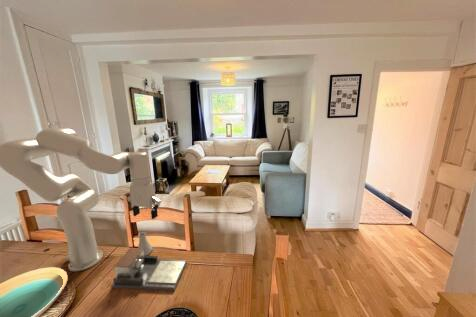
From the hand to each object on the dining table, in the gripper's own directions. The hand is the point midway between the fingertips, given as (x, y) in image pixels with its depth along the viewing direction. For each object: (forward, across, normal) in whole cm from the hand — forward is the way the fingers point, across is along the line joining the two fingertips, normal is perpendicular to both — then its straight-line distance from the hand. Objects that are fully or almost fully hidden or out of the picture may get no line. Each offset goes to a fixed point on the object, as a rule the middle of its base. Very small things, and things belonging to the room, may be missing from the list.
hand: (145, 216), depth 87 cm
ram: (+19, +1, -11) cm, 22 cm away
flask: (+21, -4, +1) cm, 21 cm away
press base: (+20, +9, -10) cm, 24 cm away
